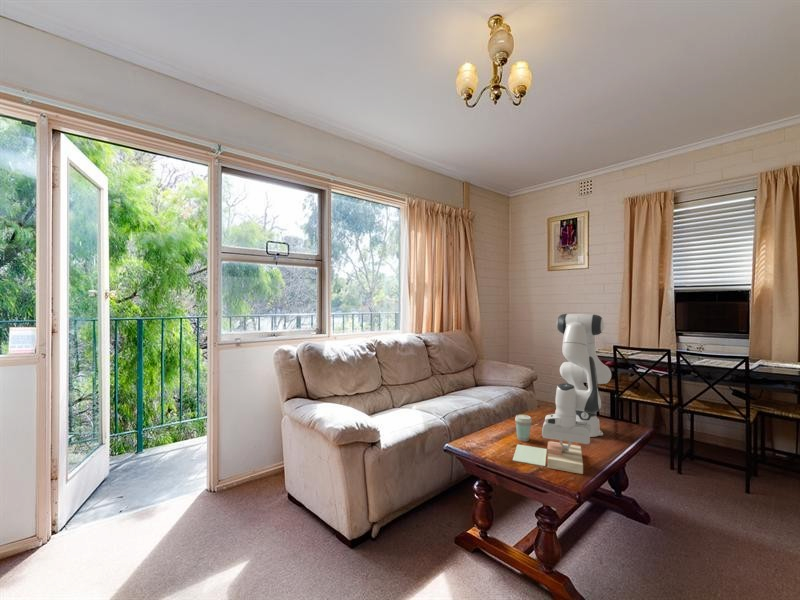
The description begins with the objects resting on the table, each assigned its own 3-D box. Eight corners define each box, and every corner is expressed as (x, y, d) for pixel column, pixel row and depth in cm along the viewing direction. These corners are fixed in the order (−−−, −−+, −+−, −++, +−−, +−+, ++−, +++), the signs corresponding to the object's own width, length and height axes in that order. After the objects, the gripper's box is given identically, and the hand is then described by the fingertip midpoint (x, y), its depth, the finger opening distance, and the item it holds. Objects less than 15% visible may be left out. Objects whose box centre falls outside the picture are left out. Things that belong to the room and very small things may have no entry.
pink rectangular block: (547, 445, 177) (547, 441, 177) (561, 447, 175) (561, 443, 175) (547, 453, 169) (547, 448, 169) (561, 455, 166) (561, 450, 166)
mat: (517, 444, 188) (517, 444, 188) (546, 449, 182) (546, 449, 182) (512, 460, 170) (512, 459, 170) (545, 466, 164) (545, 465, 164)
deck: (549, 449, 183) (549, 441, 183) (580, 454, 177) (580, 445, 177) (547, 467, 163) (547, 458, 163) (582, 474, 157) (583, 464, 157)
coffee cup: (530, 443, 190) (530, 420, 190) (513, 440, 194) (513, 417, 194) (533, 438, 197) (533, 415, 197) (516, 435, 201) (516, 413, 201)
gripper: (590, 421, 169) (590, 451, 169) (542, 415, 177) (542, 444, 177) (591, 425, 163) (591, 456, 163) (541, 419, 171) (541, 448, 171)
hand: (565, 450), depth 170 cm, fingers closed
